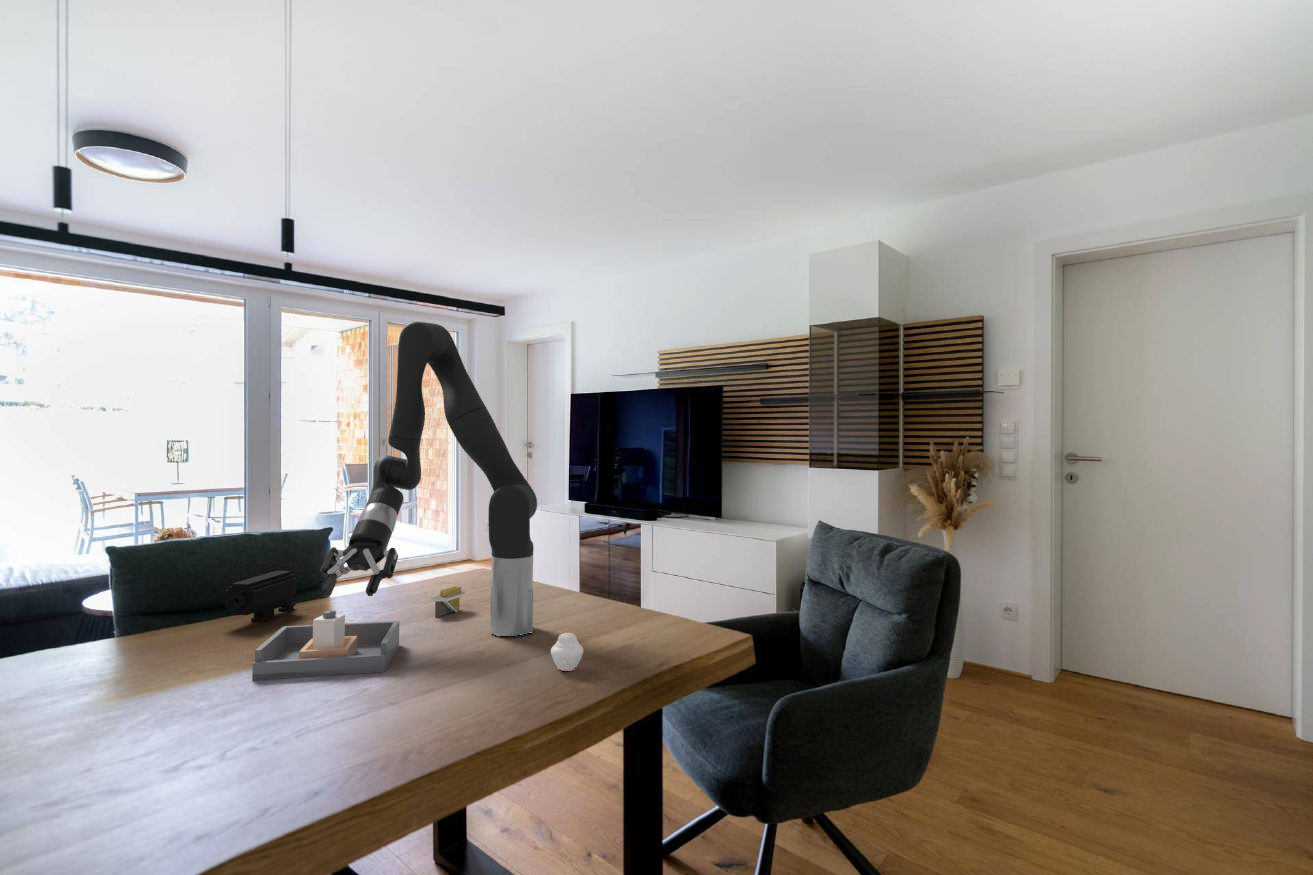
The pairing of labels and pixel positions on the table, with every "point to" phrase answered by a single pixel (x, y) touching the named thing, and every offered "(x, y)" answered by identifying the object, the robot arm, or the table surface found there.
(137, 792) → the table surface
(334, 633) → the plug
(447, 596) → the platform
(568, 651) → the white lidded jar
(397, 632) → the walled box
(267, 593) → the security camera
